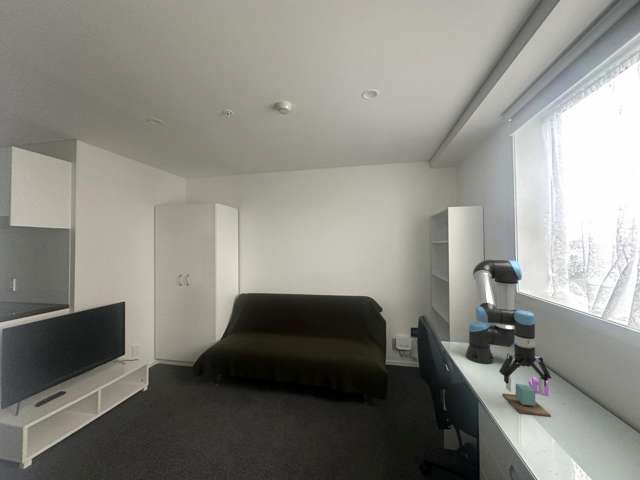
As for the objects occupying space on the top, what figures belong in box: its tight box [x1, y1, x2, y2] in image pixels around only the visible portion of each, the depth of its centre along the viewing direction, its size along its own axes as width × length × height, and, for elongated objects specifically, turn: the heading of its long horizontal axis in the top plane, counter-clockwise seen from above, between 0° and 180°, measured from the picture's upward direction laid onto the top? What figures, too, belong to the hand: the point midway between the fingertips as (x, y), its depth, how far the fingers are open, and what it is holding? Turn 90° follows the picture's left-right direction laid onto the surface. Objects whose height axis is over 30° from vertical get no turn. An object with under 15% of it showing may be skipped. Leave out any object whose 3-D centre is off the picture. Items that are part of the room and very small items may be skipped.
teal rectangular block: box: [515, 383, 536, 406], centre depth 118 cm, size 5×5×7 cm
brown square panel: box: [502, 393, 552, 418], centre depth 118 cm, size 14×12×8 cm
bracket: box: [528, 376, 549, 396], centre depth 133 cm, size 13×6×7 cm, turn 151°
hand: (524, 391), depth 119 cm, fingers open, 13 cm apart
